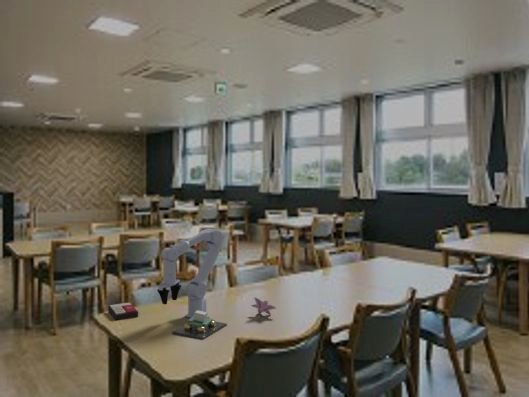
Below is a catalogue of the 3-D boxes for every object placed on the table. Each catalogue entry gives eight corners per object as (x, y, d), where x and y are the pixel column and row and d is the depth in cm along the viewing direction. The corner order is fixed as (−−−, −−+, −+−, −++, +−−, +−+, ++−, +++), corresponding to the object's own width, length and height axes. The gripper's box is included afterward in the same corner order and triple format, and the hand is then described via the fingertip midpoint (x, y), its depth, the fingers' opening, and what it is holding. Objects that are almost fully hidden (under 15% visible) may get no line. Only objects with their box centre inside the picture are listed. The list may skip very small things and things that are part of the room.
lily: (278, 321, 220) (279, 301, 224) (260, 315, 213) (262, 295, 217) (261, 323, 228) (263, 304, 232) (244, 318, 221) (246, 298, 225)
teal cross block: (195, 315, 209) (196, 306, 209) (213, 319, 207) (214, 310, 207) (185, 323, 199) (186, 314, 198) (204, 328, 197) (205, 318, 196)
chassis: (197, 320, 215) (197, 312, 215) (226, 325, 209) (226, 317, 209) (172, 333, 197) (172, 324, 197) (203, 339, 191) (203, 330, 190)
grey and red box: (115, 313, 214) (108, 304, 227) (115, 322, 215) (108, 312, 228) (138, 310, 220) (130, 301, 233) (138, 318, 220) (130, 309, 233)
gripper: (171, 269, 221) (171, 297, 221) (152, 275, 208) (152, 304, 208) (183, 271, 218) (183, 299, 218) (165, 277, 205) (165, 306, 205)
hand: (169, 301), depth 213 cm, fingers open, 7 cm apart
